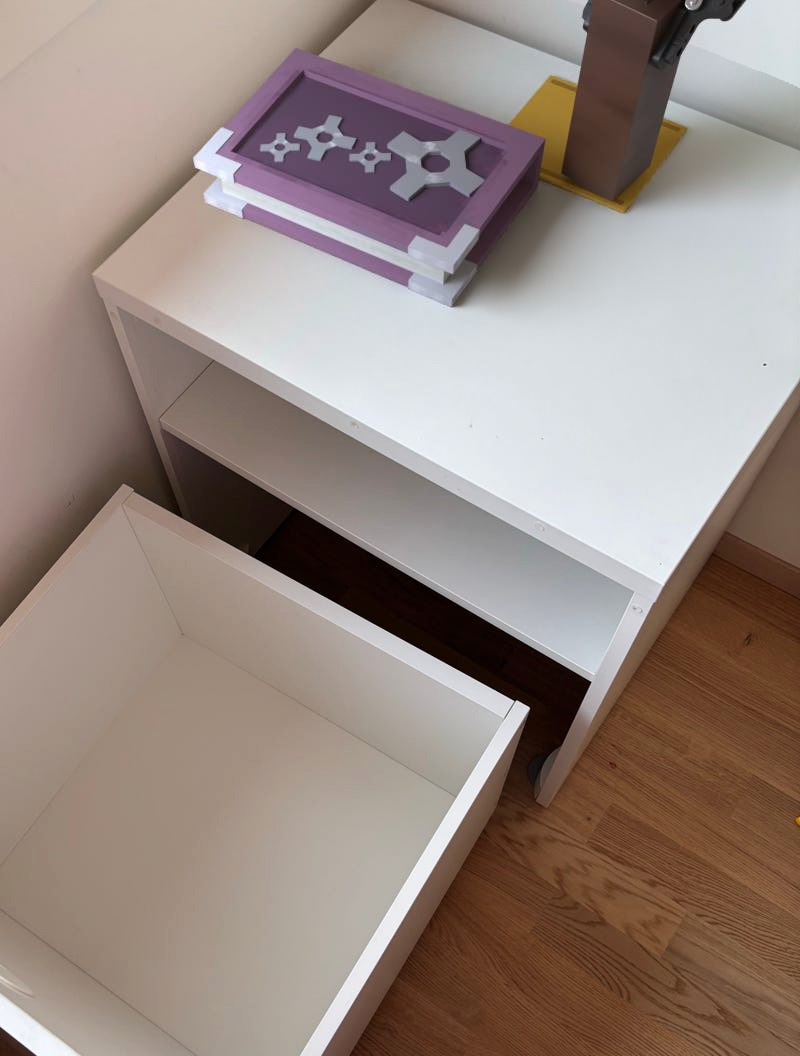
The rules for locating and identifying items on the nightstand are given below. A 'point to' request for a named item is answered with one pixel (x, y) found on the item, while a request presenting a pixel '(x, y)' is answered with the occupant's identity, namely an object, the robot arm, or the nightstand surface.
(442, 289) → the book
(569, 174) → the knife block
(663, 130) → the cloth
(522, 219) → the nightstand surface
